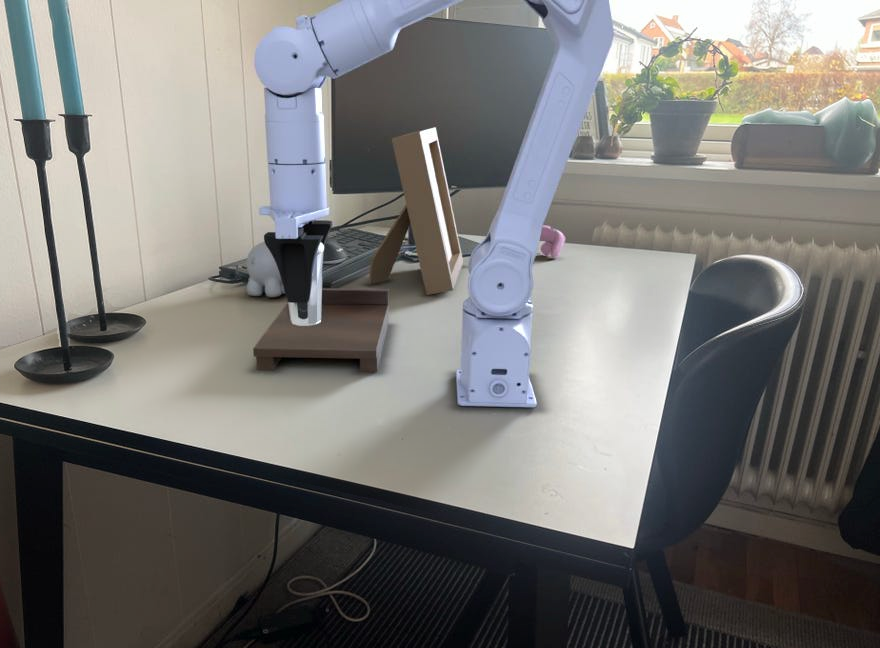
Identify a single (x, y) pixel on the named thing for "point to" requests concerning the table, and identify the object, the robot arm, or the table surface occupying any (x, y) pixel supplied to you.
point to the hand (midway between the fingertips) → (303, 294)
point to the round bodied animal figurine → (263, 273)
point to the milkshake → (312, 310)
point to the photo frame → (422, 215)
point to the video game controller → (551, 241)
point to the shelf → (331, 330)
